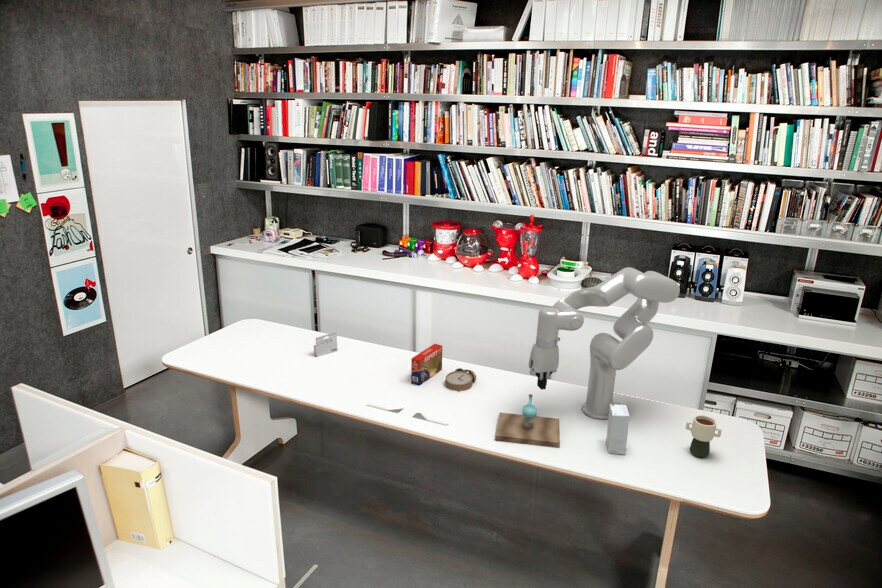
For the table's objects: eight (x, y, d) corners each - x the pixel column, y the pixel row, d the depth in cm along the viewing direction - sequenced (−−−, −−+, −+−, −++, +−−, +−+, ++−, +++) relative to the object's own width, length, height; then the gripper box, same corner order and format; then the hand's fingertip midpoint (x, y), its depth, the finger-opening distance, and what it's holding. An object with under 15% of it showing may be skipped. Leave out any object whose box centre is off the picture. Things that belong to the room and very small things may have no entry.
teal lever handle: (535, 424, 208) (536, 412, 207) (521, 422, 209) (522, 410, 208) (536, 406, 220) (537, 394, 219) (523, 404, 221) (523, 393, 219)
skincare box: (625, 455, 200) (631, 417, 195) (607, 453, 201) (612, 415, 196) (622, 441, 208) (627, 404, 203) (604, 439, 209) (609, 402, 204)
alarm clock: (439, 380, 243) (458, 361, 254) (440, 390, 245) (459, 371, 256) (463, 388, 237) (481, 368, 248) (464, 398, 240) (482, 378, 251)
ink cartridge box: (313, 355, 270) (312, 336, 267) (335, 349, 277) (334, 330, 273) (316, 357, 268) (315, 337, 265) (337, 351, 275) (337, 332, 272)
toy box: (419, 386, 244) (419, 360, 240) (411, 383, 246) (411, 358, 242) (442, 369, 259) (442, 345, 255) (434, 367, 261) (434, 343, 257)
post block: (558, 423, 219) (560, 406, 216) (559, 447, 204) (561, 430, 201) (499, 417, 222) (500, 400, 220) (495, 440, 207) (496, 423, 205)
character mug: (716, 452, 203) (723, 419, 198) (715, 463, 197) (722, 429, 192) (682, 444, 207) (688, 411, 203) (680, 454, 201) (686, 421, 197)
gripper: (559, 335, 216) (554, 380, 222) (522, 339, 211) (518, 385, 217) (570, 343, 210) (564, 389, 216) (533, 348, 205) (528, 395, 211)
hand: (541, 387), depth 216 cm, fingers closed
